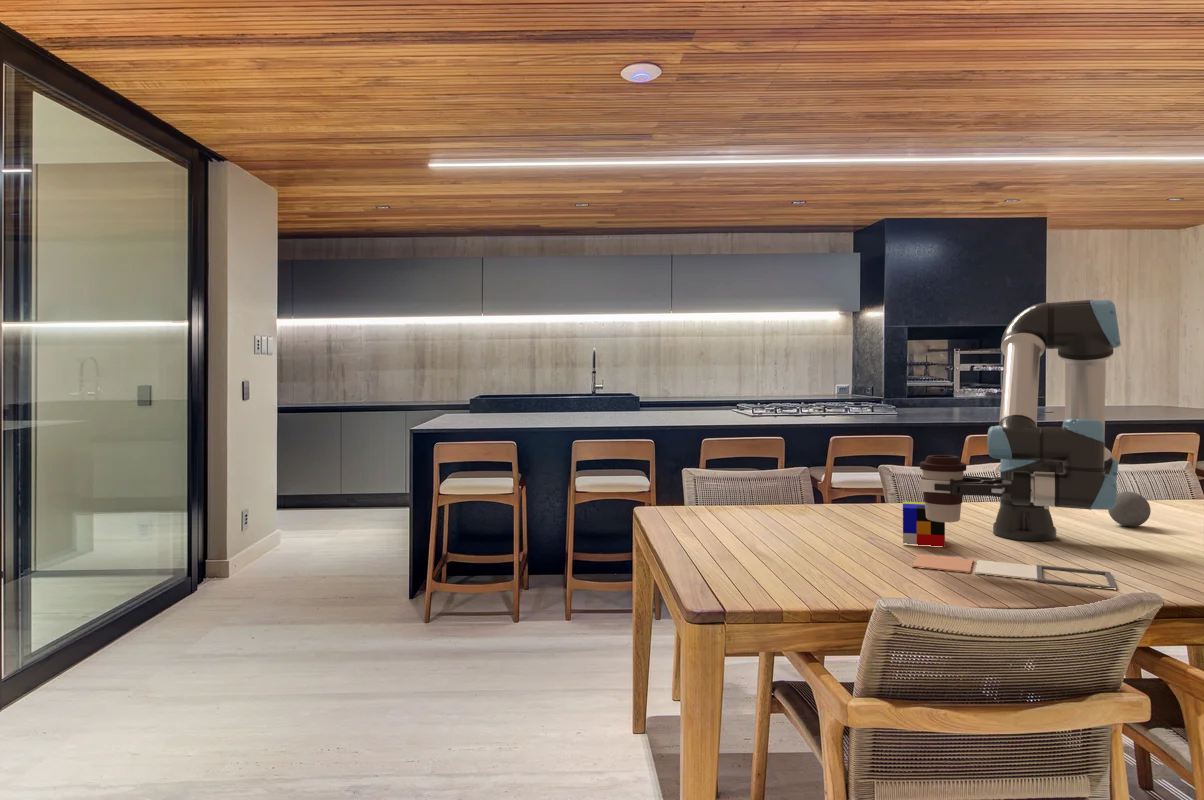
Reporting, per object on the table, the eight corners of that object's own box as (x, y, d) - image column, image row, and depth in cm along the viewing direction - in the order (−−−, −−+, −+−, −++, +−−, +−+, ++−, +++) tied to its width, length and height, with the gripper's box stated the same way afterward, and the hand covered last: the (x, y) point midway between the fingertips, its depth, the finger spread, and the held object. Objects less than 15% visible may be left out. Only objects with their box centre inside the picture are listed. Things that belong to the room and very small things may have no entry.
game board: (911, 568, 170) (911, 566, 170) (919, 555, 182) (919, 553, 182) (1116, 590, 151) (1116, 588, 151) (1109, 574, 163) (1109, 571, 163)
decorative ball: (1124, 530, 207) (1124, 494, 207) (1099, 523, 217) (1099, 489, 217) (1159, 529, 207) (1159, 494, 207) (1133, 522, 217) (1133, 488, 217)
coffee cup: (921, 522, 170) (921, 457, 169) (918, 515, 179) (918, 453, 179) (968, 525, 166) (968, 459, 166) (963, 517, 176) (963, 454, 175)
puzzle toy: (903, 545, 194) (902, 507, 193) (902, 537, 203) (902, 501, 202) (944, 548, 190) (944, 509, 189) (942, 540, 199) (942, 503, 199)
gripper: (1032, 513, 154) (915, 505, 166) (1031, 498, 173) (926, 492, 184) (1032, 477, 154) (915, 472, 165) (1031, 466, 173) (926, 462, 184)
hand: (921, 482), depth 175 cm, fingers closed on coffee cup, 9 cm apart
